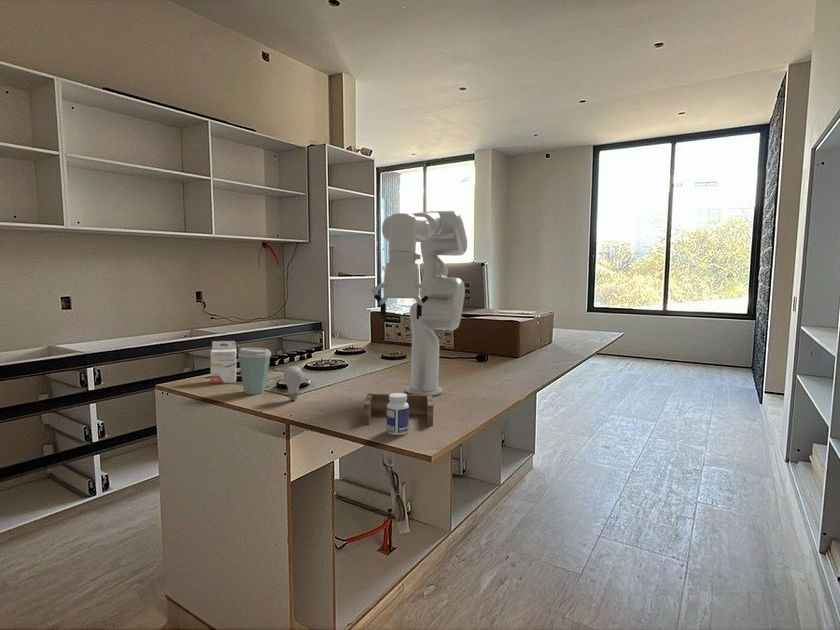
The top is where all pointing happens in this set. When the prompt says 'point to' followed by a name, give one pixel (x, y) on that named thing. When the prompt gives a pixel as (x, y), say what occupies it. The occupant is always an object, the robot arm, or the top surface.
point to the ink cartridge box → (223, 362)
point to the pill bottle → (397, 414)
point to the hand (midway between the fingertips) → (401, 318)
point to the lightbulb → (293, 380)
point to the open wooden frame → (415, 402)
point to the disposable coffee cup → (254, 369)
